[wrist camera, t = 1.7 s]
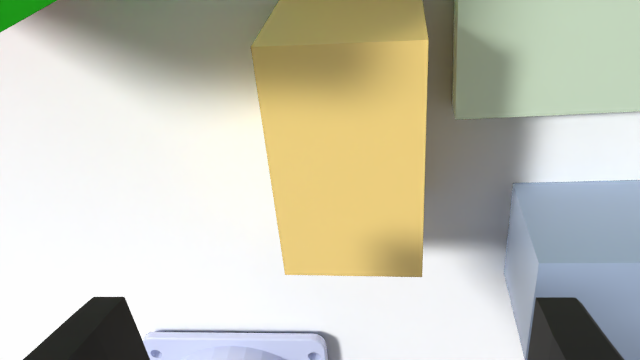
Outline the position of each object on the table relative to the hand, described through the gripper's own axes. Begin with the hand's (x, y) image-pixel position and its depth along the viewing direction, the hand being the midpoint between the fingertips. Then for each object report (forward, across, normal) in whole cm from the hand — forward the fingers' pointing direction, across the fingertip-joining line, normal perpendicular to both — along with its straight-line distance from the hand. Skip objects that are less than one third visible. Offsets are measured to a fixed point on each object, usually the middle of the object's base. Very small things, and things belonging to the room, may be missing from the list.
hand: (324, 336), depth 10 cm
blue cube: (+9, -7, +5) cm, 13 cm away
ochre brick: (+9, 0, 0) cm, 9 cm away
